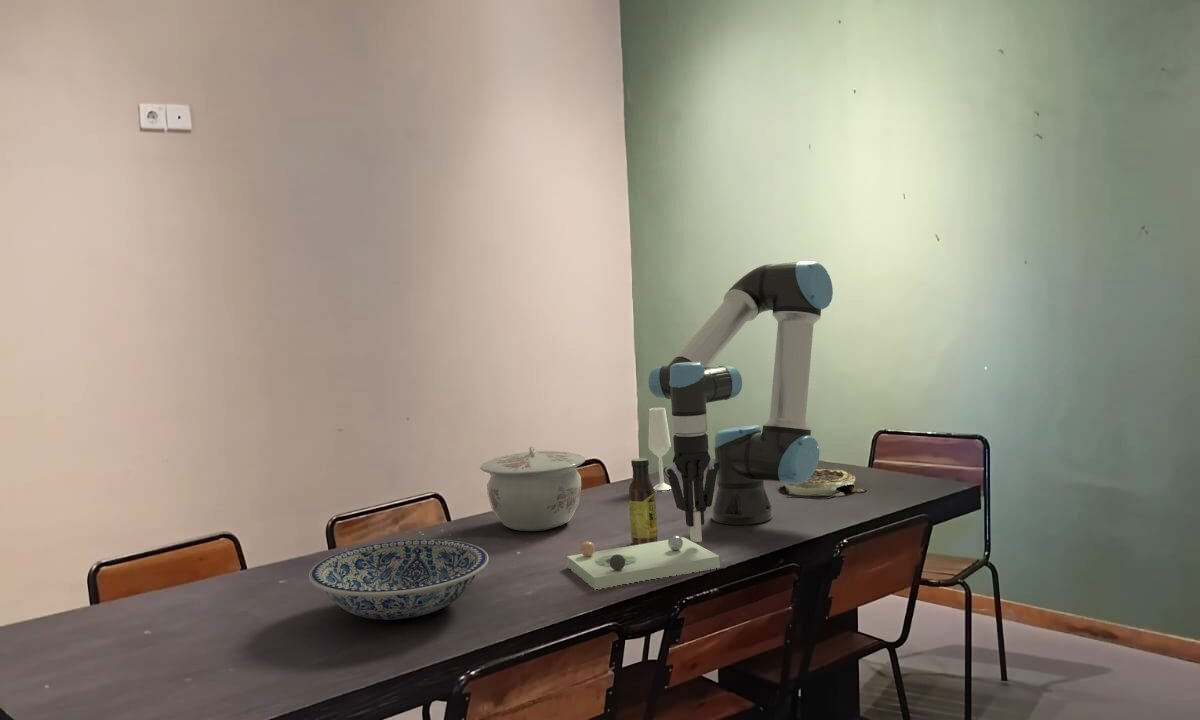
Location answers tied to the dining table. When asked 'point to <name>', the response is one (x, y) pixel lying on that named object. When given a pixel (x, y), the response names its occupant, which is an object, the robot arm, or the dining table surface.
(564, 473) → the chamber pot
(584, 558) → the board
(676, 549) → the steel ball
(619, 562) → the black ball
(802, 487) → the pie
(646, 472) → the sauce bottle
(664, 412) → the champagne flute
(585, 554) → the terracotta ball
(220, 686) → the dining table surface
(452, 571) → the ceramic bowl
